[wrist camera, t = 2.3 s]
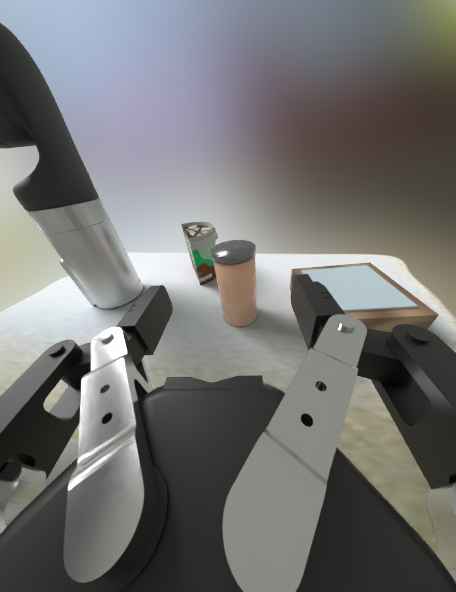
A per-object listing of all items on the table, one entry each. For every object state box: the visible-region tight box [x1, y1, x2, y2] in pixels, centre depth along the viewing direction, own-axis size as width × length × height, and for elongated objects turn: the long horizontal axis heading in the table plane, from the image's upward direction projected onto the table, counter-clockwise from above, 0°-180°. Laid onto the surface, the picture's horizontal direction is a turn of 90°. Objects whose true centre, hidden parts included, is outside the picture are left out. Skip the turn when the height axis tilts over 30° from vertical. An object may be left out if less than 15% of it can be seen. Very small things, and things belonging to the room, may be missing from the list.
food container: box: [182, 222, 218, 285], centre depth 37 cm, size 12×6×10 cm, turn 18°
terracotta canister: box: [211, 240, 257, 327], centre depth 24 cm, size 5×5×11 cm
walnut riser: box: [290, 263, 438, 332], centre depth 25 cm, size 12×12×4 cm
